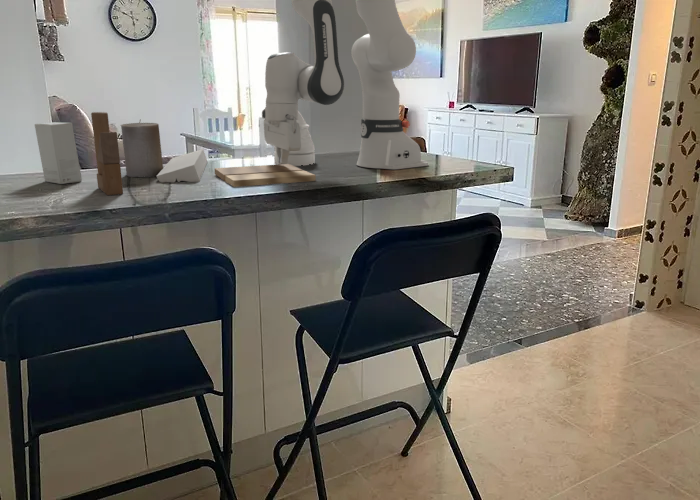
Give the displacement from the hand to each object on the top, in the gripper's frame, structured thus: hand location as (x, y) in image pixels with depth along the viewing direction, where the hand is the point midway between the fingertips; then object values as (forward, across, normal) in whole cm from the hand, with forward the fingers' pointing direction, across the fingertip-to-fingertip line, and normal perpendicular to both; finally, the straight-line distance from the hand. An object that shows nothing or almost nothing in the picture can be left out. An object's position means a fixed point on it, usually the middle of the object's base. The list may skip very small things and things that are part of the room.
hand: (282, 163), depth 164 cm
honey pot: (+3, +17, -10) cm, 20 cm away
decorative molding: (+4, +13, +25) cm, 28 cm away
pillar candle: (+3, +11, +36) cm, 38 cm away
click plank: (+3, -2, +8) cm, 8 cm away
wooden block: (+3, -10, +47) cm, 48 cm away
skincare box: (+3, +8, +57) cm, 57 cm away
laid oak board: (+3, -12, +8) cm, 15 cm away
